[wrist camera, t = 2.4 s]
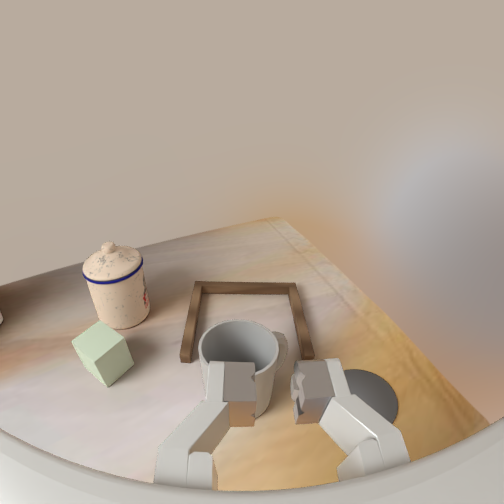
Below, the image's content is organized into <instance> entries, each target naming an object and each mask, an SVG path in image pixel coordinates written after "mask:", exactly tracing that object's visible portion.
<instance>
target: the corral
mask: <svg viewBox="0 0 504 504" xmlns="http://www.w3.org/2000/svg"><path fill="white" fill-rule="evenodd" d="M202 293H214V294H288V296H289V300H290V305H291V309H292V314H293V318H294V323H295V328H296V332H297V337H298V342H299V346H300V351H301V356H302V360H313V359H314V351H313V347H312V344H311V340H310V336H309V332H308V328H307V324H306V320H305V317H304V313H303V309H302V306H301V302H300V298H299V294H298V291H297V287H296V284H295V283H263V282H206V281H195V284H194V289H193V293H192V298H191V302H190V307H189V311H188V316H187V321H186V325H185V330H184V335H183V340H182V345H181V350H180V359H181V362H183V363H191V357H192V351H193V345H194V338H195V332H196V326H197V320H198V314H199V308H200V303H201V297H202Z"/></svg>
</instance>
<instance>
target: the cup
mask: <svg viewBox="0 0 504 504" xmlns="http://www.w3.org/2000/svg"><path fill="white" fill-rule="evenodd" d="M287 350H288V342H287V340H286V338H285V336H284V334H282V333H279V332H271V331H270V330H269V329H267V328H266V327H264V326H263V325H261V324H258V323H256V322H253V321H248V320H238V319H234V320H227V321H223V322H220V323H217V324H215V325H213V326H212V327H210V328H209V329H208V330H207V331H205V332H204V333H203V335H202V337H201V339H200V340H199V346H198V351H199V358H200V365H201V371H202V378H203V384H204V390H205V396H206V391H207V379H208V368H209V363H210V361H225V362H254V363H255V383H256V395H257V405H256V412H255V418H257V417H259V416H260V415H261V414H262V413H263V412H264V411H265V410H266V408H267V407H268V405H269V402H270V398H271V394H272V389H273V383H274V377H275V372H277V370H278V369H279V368H280V367H281V365H282V363H283V362H284V360H285V357H286V354H287Z"/></svg>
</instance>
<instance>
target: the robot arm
mask: <svg viewBox="0 0 504 504" xmlns="http://www.w3.org/2000/svg"><path fill="white" fill-rule="evenodd" d="M2 321H3V317H2V314H1V312H0V324H1V323H2ZM294 372H295V373H294V374H292V377H291V386H290V389H291V398H292V400H293V401H294V402H295V405H294V408H293V411H294V418H295V424H310V423H319V425H320V426H321V427H322V428H323V429H324V430H325V432H326V433H327V434H328V435H329V436H330V437H331V438H332V439H333V440H334V441H335V443H336V444H337V445H338V446H339V447H340V448H341V449H342V450H343V451H344V452H345V453H346V454H347V455H348V456H347V457H346V458H345V459H344V461H343V462H342V463H341V464H340V465H339V466H338V467H337V473H338V479H339V482H334V483H329V484H323V485H316V486H309V487H301V488H292V489H281V490H264V491H218V475H217V472H216V468H215V464H214V460H213V456H211V454H212V452H213V451H214V450H215V448H216V447H217V446H218V444H219V443H220V441H221V440H222V439H223V437H224V436H225V434H226V433H227V431H228V430H229V429H230V427H252V426H254V423H255V412H256V405H257V395H256V383H255V363H254V362H225V361H210V363H209V368H208V379H207V391H206V401H201V402H200V403H199V404H198V405H197V406H196V407H195V408H194V410H193V411H192V412H191V413H190V414H189V415H188V416H187V417H186V418H185V419H184V420H183V422H182V423H181V424H180V425H179V426H178V427H177V428H176V429H175V430H174V431H173V432H172V433H171V434H170V435H169V436H168V437H167V438H166V439H165V441H164V442H163V443H162V444H161V445H160V446H159V448H158V455H157V461H156V468H155V475H154V483H148V482H143V481H138V480H133V479H129V478H125V477H120V476H116V475H113V474H109V473H105V472H102V471H98V470H95V469H92V468H89V467H86V466H83V465H80V464H77V463H74V462H71V461H68V460H66V459H63V458H61V457H58V456H56V455H53V454H51V453H48V452H46V451H44V450H41V449H39V448H37V447H35V446H33V445H31V444H29V443H27V442H24V441H22V440H21V439H19V438H17V437H15V436H13V435H11V434H9V433H7V432H6V431H4V430H2V429H0V504H504V417H502V418H501V419H499V420H498V421H496V422H494V423H493V424H491V425H489V426H488V427H486V428H484V429H482V430H481V431H479V432H477V433H475V434H473V435H471V436H469V437H467V438H465V439H464V440H461V441H459V442H457V443H455V444H453V445H451V446H449V447H447V448H444V449H442V450H440V451H438V452H435V453H433V454H430V455H428V456H425V457H423V458H420V459H418V460H415V461H412V462H411V461H410V458H409V455H408V452H407V449H406V446H405V443H404V440H403V437H402V434H401V431H400V430H399V429H397V428H396V427H395V426H394V425H392V424H391V423H390V422H388V421H387V420H386V419H385V418H383V417H382V416H381V415H380V414H379V413H377V412H376V411H375V410H374V409H372V408H371V407H370V406H369V405H367V404H366V403H365V402H364V401H363V400H361V399H360V398H359V397H358V396H356V395H355V394H353V395H351V393H350V390H349V387H348V383H347V380H346V377H345V374H344V371H343V368H342V365H341V362H340V360H339V359H338V358H332V359H316V360H302V361H296V362H295V364H294Z"/></svg>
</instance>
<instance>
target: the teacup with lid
mask: <svg viewBox="0 0 504 504" xmlns="http://www.w3.org/2000/svg"><path fill="white" fill-rule="evenodd" d="M142 264H143V258H142V256H141V254H140V253H139V252H138V251H137V250H136V249H134V248H131V247H128V246H115V244H114V243H113V242H106V243H104V244H103V245H102V247H101V250H99V251H97V252H95V253H93V254H92V255H91V256H90V257H88V258H87V260H86V261H85V262H84V265H83V276H84V278H85V279H86V281H87V284H88V287H89V290H90V294H91V297H92V300H93V303H94V306H95V308H96V311H97V314H98V317H99V319H100V320H101V321H102V322H103V323H105V324H106V325H107V326H109V327H110V328H113V329H126V328H130V327H133V326H135V325H137V324H139V323H140V322H142V321H143V320H144V319H145V318H146V317H147V315H148V313H149V311H150V303H149V298H148V293H147V288H146V283H145V278H144V273H143V268H142Z"/></svg>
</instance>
